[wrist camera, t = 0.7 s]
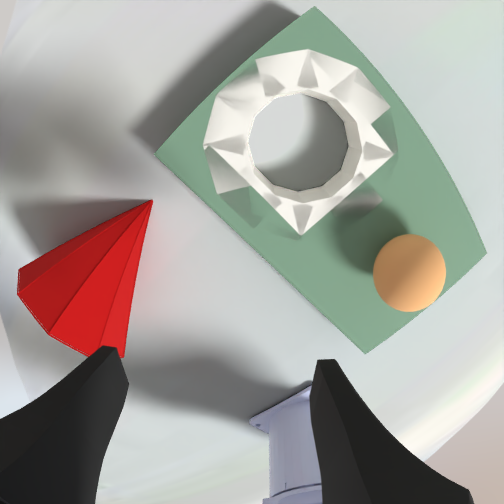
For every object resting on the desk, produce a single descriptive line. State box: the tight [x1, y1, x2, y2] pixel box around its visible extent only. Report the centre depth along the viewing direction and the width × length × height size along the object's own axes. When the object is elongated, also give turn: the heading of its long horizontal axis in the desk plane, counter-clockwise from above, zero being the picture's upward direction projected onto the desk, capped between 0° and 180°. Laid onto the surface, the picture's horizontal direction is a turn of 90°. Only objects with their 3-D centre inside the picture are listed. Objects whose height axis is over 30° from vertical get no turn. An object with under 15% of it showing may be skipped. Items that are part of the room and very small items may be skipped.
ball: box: [373, 234, 446, 312], centre depth 14 cm, size 4×4×4 cm
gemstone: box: [17, 200, 153, 358], centre depth 17 cm, size 9×9×10 cm
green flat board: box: [154, 6, 487, 354], centre depth 16 cm, size 18×11×2 cm, turn 45°
